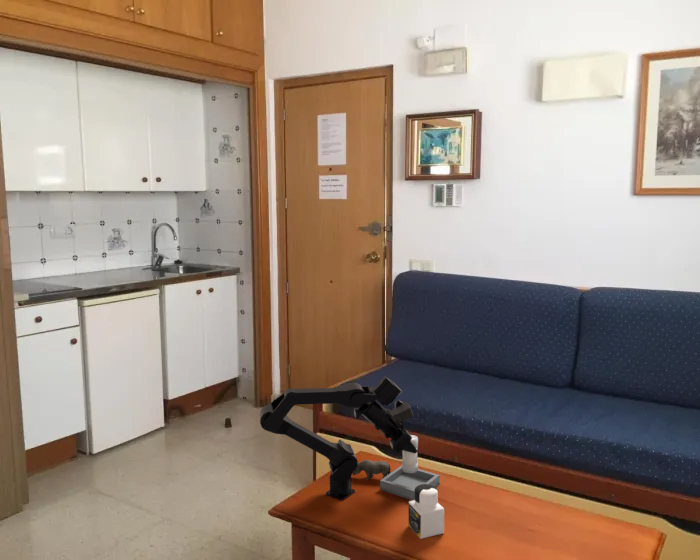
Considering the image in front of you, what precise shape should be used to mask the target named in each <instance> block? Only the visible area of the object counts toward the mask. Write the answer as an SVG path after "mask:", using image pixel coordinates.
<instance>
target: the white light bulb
mask: <svg viewBox="0 0 700 560" xmlns="http://www.w3.org/2000/svg"><path fill="white" fill-rule="evenodd" d="M410 435H411V437H412V439H411V442H412V444H413V445H414V446H415V448H416V449H417V450H418V447H419V438H418V436H417V435H413V434H410ZM401 465H402V471H403V472H405V473H415V472H417V471H418V469H419V461H418V452H417V453H411V452H407V451H403V450H402V461H401Z"/></svg>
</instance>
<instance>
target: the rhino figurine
mask: <svg viewBox="0 0 700 560" xmlns="http://www.w3.org/2000/svg"><path fill="white" fill-rule="evenodd" d="M391 470H392V469H391V466H390V463H389V462H387V461H385V460H376V461H375V460H374V461H373V460H370V459H364V460H361V461H358V465H357V468H356V469H355V470H354V471H353V472H352V476H356V475H358V474H361V472H363V471H364V472H365V474H366V477H365V481H370V480H371V478H373V477H374V475H378V474H379V475H380V474H382V478H381V479H383V478H384V477H386V476H387V475H389V474H390V473H391V472H392V471H391Z"/></svg>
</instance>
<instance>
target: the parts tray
mask: <svg viewBox="0 0 700 560" xmlns="http://www.w3.org/2000/svg"><path fill="white" fill-rule="evenodd" d="M390 472H391V473H390V474H389V475H388V474H387V476H386V477H384V478H383V477H382V478H383V479H382V478H381V479H380V480H379V482H380V483H379V490H380V491H384V492H386V493H389V494H391V495H395V496H398V497H402V498H404V499H407V500H409V501H413V500H415V488H416V487H417V486H418V485H421V484H429V485H433V486H435V487H436V488H437V487H438V486H439V485H440V478H441V477H440V474H437V473H434V472H430V471H426V470H423V469H420V468H418V471H417V472H415V473H405V472H403V471H402V464H401V465H400V466H399V467H397V468H396V469H394V470H393V471H390Z"/></svg>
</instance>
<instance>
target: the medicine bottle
mask: <svg viewBox="0 0 700 560" xmlns="http://www.w3.org/2000/svg"><path fill="white" fill-rule="evenodd" d="M438 492H439V489H438V488H437V487H435V486H433V485H429V484H421V485H418V486H417V487H416V488H415V500H409V501H408V527H409V528H410V529H411V530H412V531H413V532H414V533H415V534H416V536H417V537H418V538H419V539H420V540H421V539H426V538H430V537H434V536H438V535H439V536H440V535H442V534H444V533H445V508H444V507H443V506H442V505H441V504H440V503H439V502H438V499H439V496H438V495H439V493H438Z"/></svg>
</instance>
